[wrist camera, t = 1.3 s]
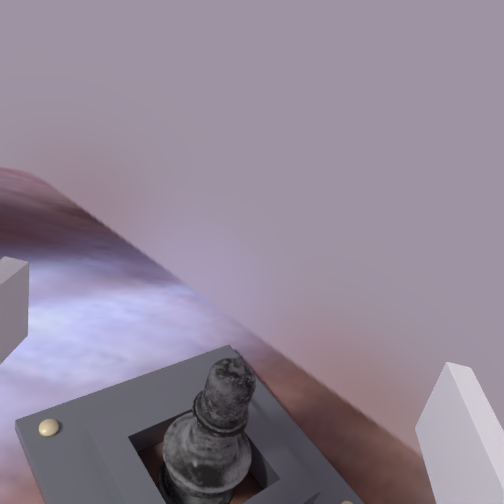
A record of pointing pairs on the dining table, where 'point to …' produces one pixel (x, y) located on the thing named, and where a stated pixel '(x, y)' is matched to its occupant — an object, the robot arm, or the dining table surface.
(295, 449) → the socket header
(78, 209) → the dining table surface
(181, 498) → the salt shaker
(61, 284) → the dining table surface
